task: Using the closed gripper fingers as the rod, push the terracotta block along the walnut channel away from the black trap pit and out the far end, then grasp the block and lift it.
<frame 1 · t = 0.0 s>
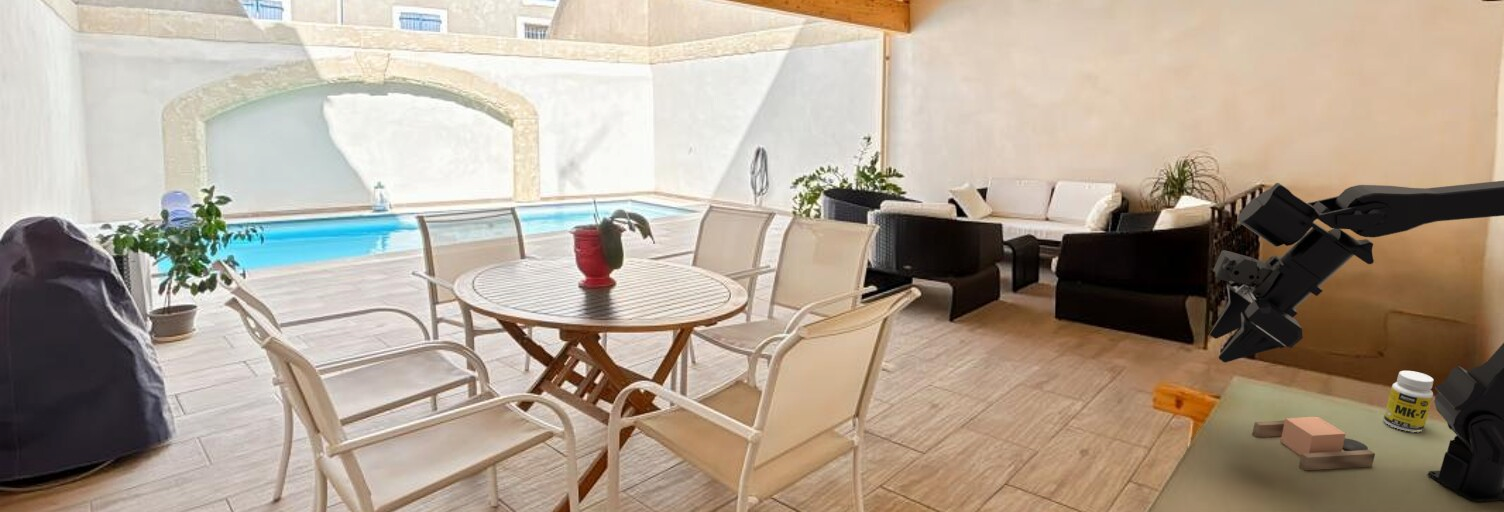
hand: (1216, 347, 107), 15 cm above the table, tool tilted 35°, fingers open, 9 cm apart
terracotta block: (1309, 450, 109), on the table
supplement bottle: (1402, 426, 115), on the table
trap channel: (1309, 449, 109), on the table
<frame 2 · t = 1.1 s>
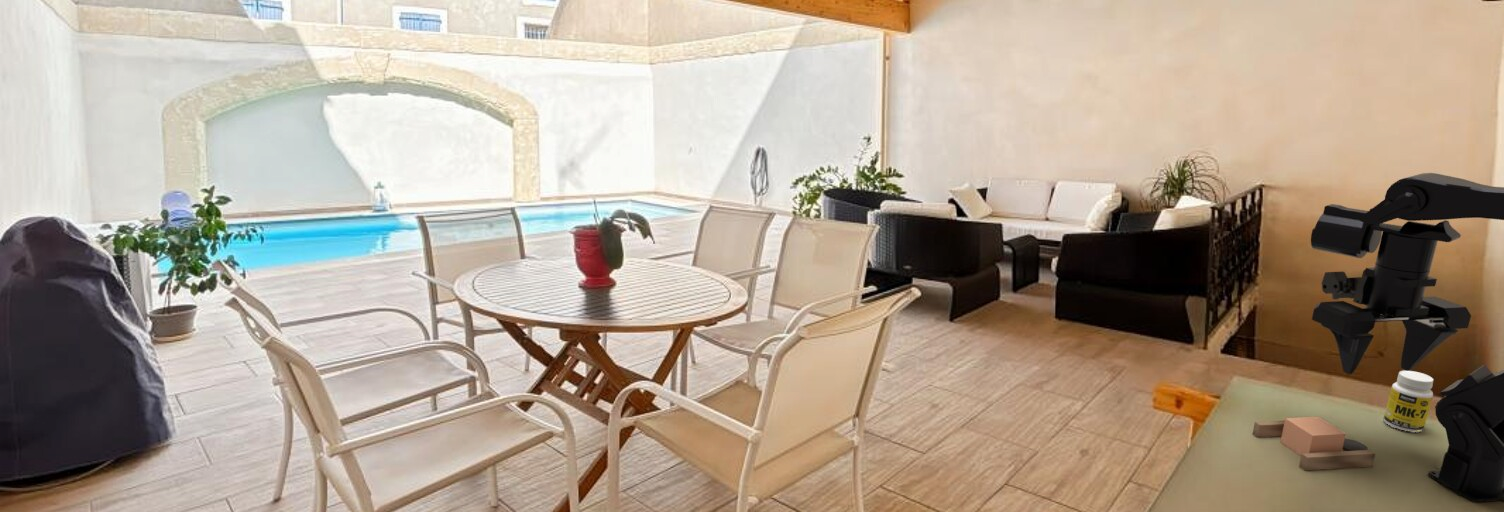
hand: (1376, 371, 106), 12 cm above the table, tool pointing down, fingers open, 9 cm apart
nothing on the table moved.
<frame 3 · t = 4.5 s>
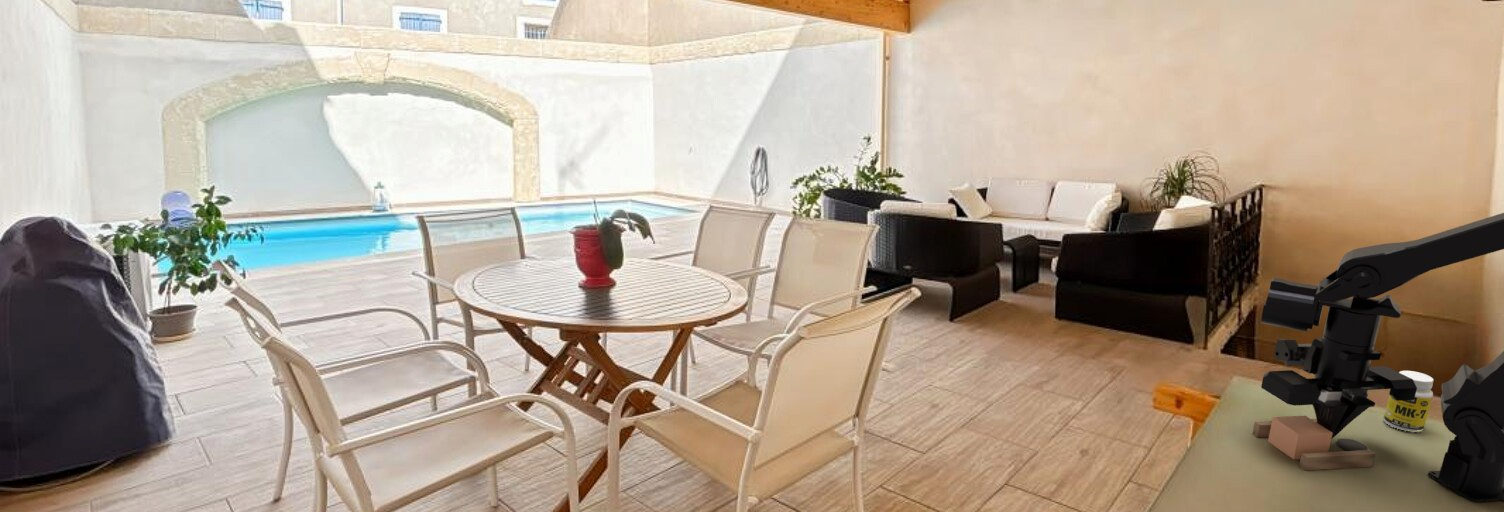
hand: (1325, 438, 109), 2 cm above the table, tool pointing down, fingers closed
terracotta block: (1296, 449, 109), on the table, touching gripper
everything else where it was.
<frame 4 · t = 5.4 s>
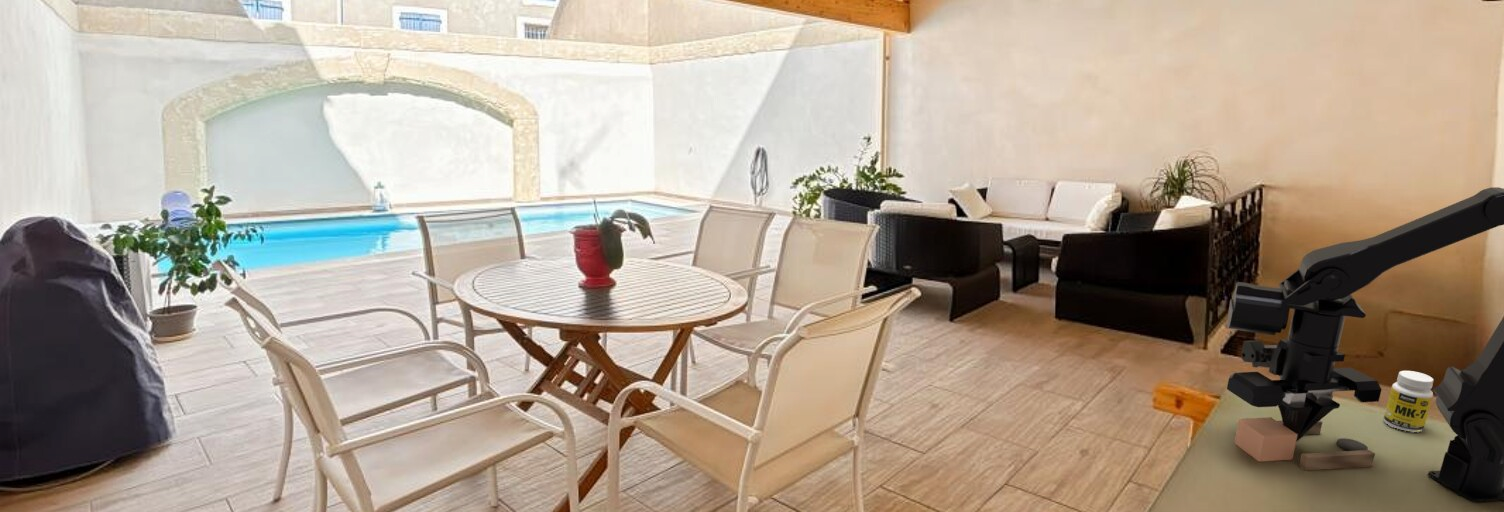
hand: (1291, 440, 108), 2 cm above the table, tool pointing down, fingers closed
terracotta block: (1262, 451, 108), on the table, touching gripper
everything else where it was.
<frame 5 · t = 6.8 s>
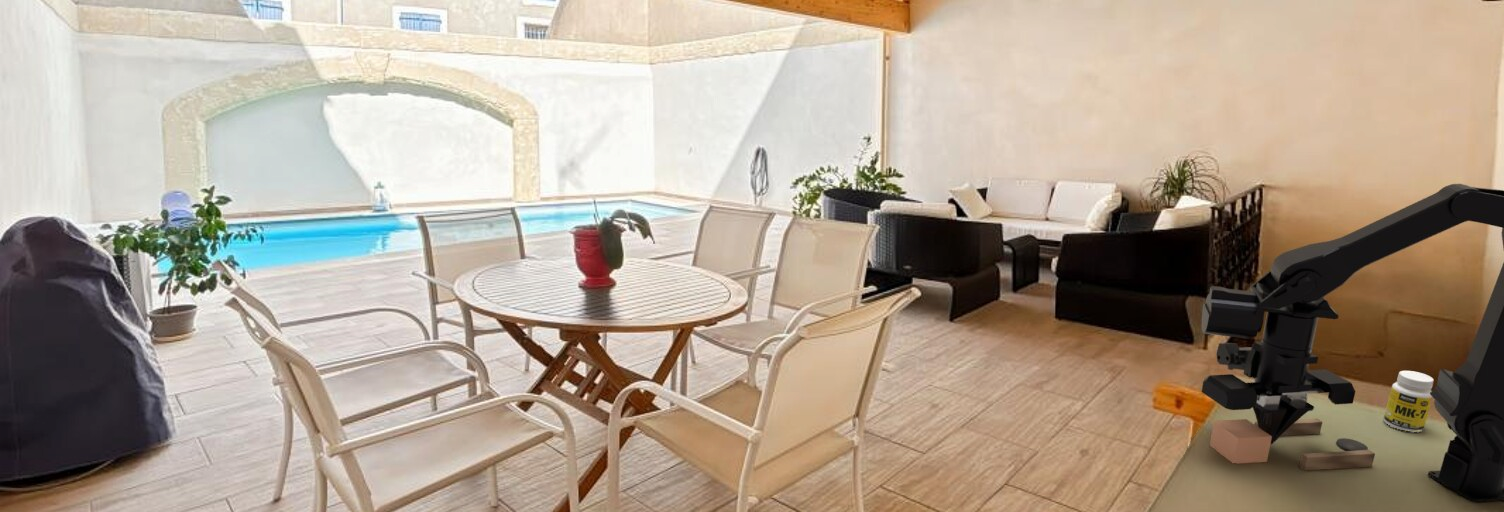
hand: (1266, 442, 108), 1 cm above the table, tool pointing down, fingers closed
terracotta block: (1237, 453, 108), on the table, touching gripper
everything else where it was.
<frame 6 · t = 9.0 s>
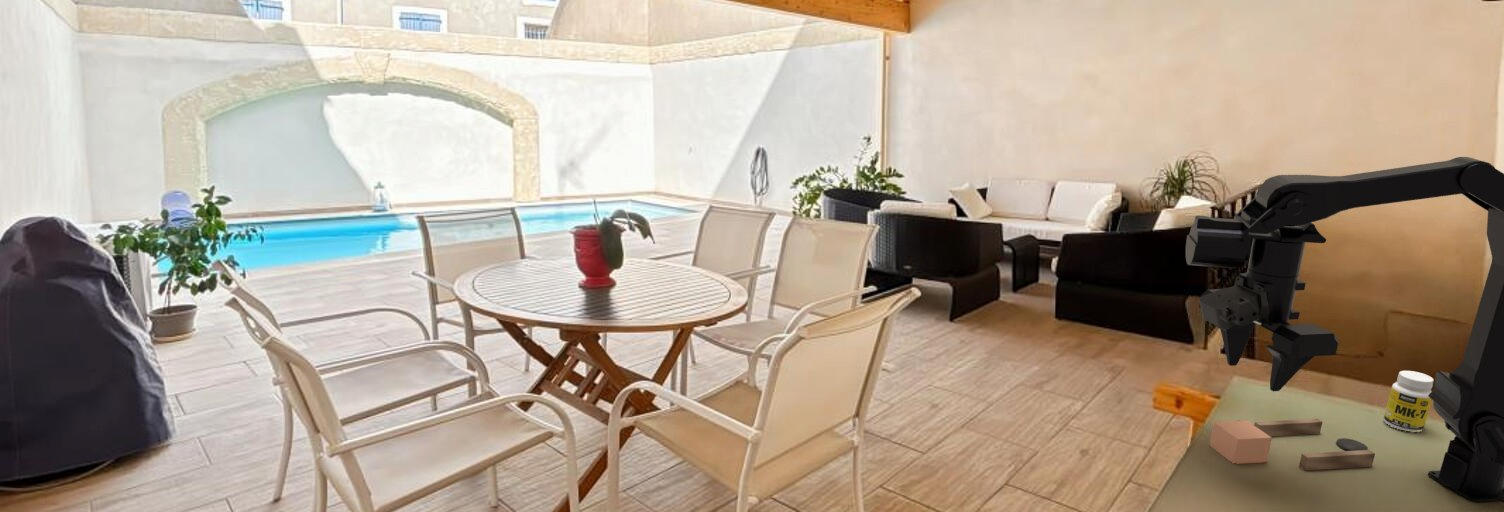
hand: (1252, 377, 105), 12 cm above the table, tool pointing down, fingers open, 8 cm apart
terracotta block: (1237, 454, 108), on the table
everything else where it was.
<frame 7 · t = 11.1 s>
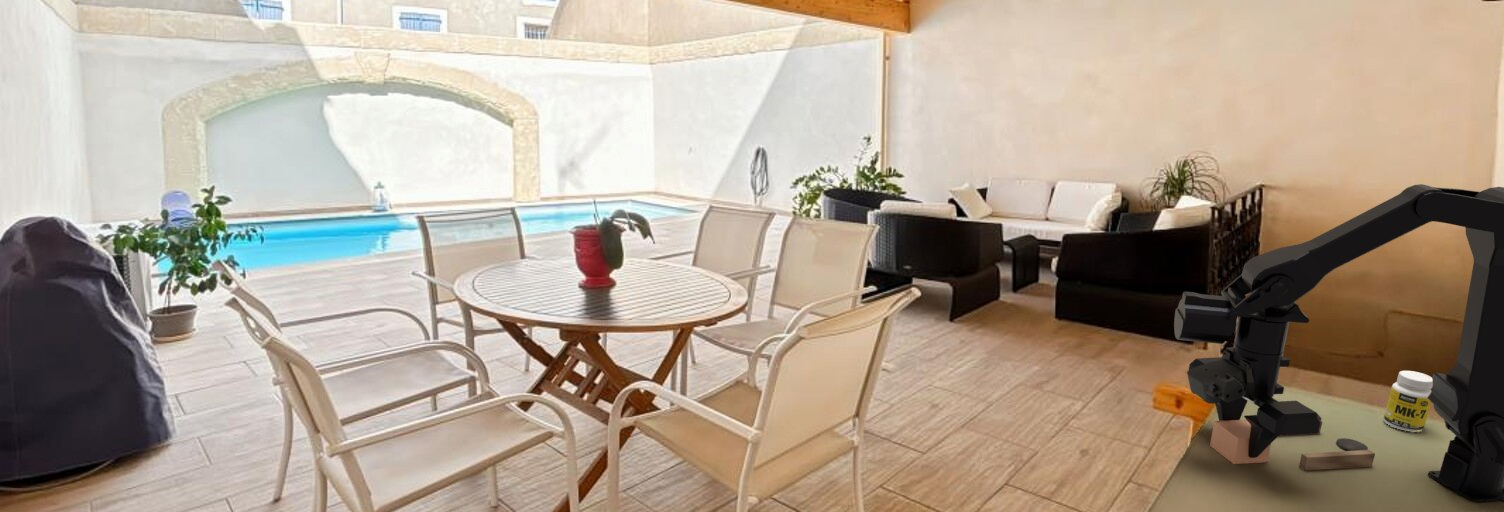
hand: (1239, 447, 108), 1 cm above the table, tool pointing down, fingers closed on terracotta block, 5 cm apart
terracotta block: (1238, 453, 108), on the table, touching gripper
everything else where it was.
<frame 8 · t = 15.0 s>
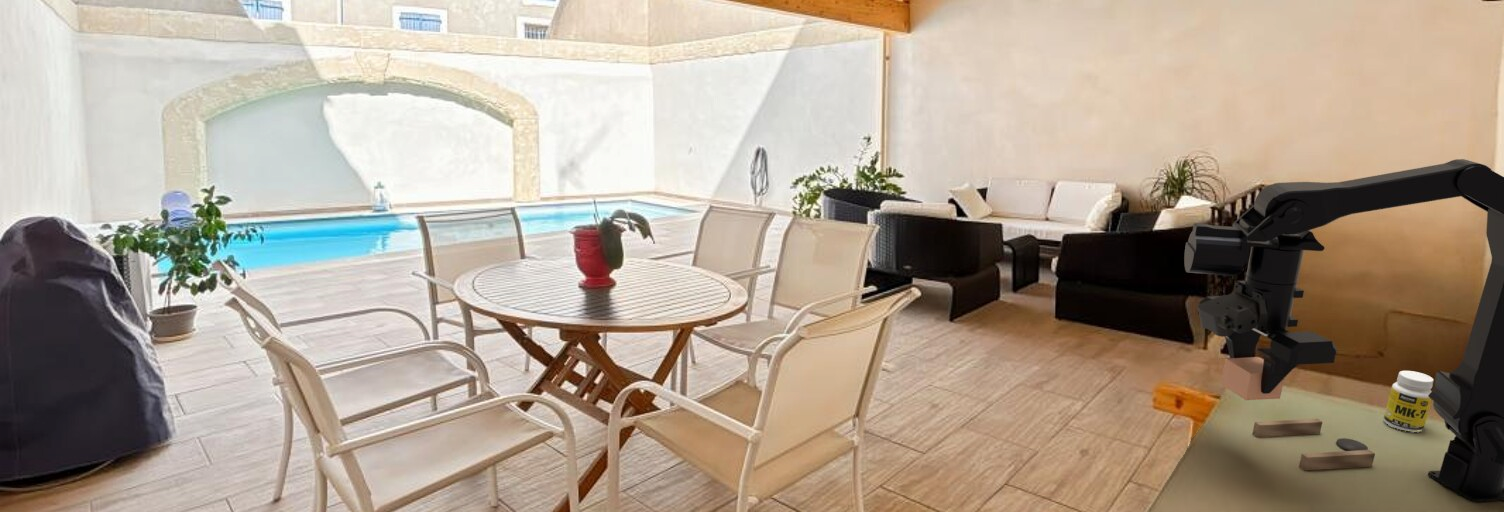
hand: (1251, 384, 105), 11 cm above the table, tool pointing down, fingers closed on terracotta block, 5 cm apart
terracotta block: (1249, 391, 105), point 10 cm above the table, touching gripper
everything else where it was.
at the end: the gripper is holding terracotta block; terracotta block point 9.9 cm above the table; terracotta block inside the target area on the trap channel (0.0 cm from its centre), point 9.9 cm above the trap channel's base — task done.
